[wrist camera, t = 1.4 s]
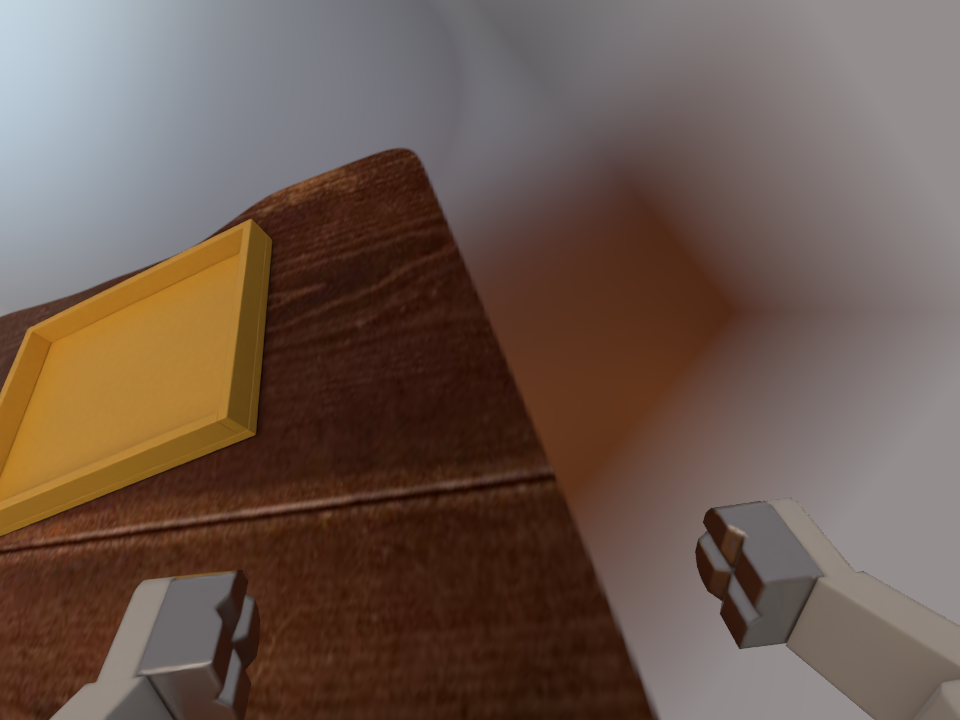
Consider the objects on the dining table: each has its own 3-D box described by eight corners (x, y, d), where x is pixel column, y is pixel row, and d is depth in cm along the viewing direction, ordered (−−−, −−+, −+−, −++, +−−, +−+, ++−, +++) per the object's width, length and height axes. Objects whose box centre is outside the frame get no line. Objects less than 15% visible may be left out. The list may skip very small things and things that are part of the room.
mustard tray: (272, 240, 38) (251, 217, 36) (256, 435, 29) (226, 416, 27) (55, 344, 42) (27, 328, 40) (-20, 544, 33) (-61, 534, 31)
